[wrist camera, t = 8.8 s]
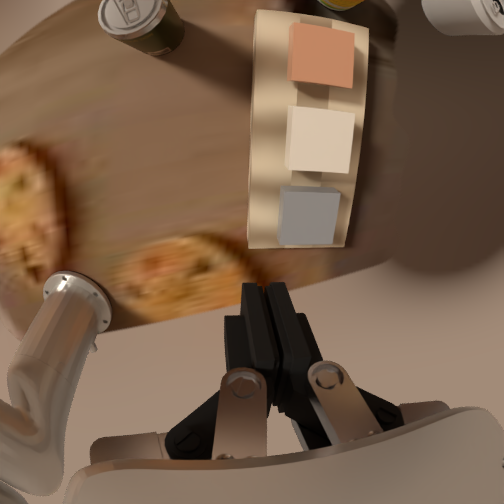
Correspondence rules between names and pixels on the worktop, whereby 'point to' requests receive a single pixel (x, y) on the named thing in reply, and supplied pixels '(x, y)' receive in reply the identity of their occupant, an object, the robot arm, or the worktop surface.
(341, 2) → the supplement bottle
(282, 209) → the slate tile
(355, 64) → the button board
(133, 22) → the beer can
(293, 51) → the terracotta tile
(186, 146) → the worktop surface
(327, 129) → the cream tile
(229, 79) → the worktop surface
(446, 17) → the can
